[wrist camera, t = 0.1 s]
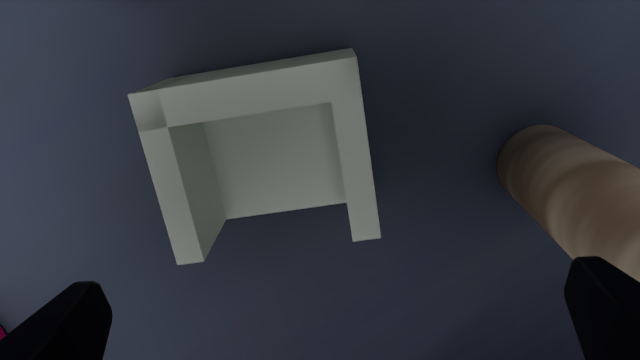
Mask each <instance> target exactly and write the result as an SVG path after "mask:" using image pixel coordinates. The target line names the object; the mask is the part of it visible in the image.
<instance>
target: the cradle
mask: <svg viewBox="0 0 640 360" xmlns="http://www.w3.org/2000/svg"><path fill="white" fill-rule="evenodd" d="M127 95H128V98H129V102H130V105H131V108H132V112H133V115H134V119H135V122H136V126H137V129H138V132H139V136H140V139H141V143H142V146H143V149H144V153H145V156H146V160H147V163H148V167H149V170H150V173H151V177H152V180H153V184H154V187H155V190H156V194H157V197H158V201H159V204H160V208H161V211H162V214H163V218H164V221H165V225H166V228H167V231H168V235H169V238H170V242H171V245H172V249H173V252H174V255H175V259H176V262H177V265H183V264H190V263H198V262H204V261H205V259H206V257H207V255H208V253H209V251H210V249H211V247H212V246H213V244H214V242H215V240H216V238H217V236H218V234H219V232H220V230H221V229H222V227H223V225H224V223H225V221H226V219H233V218H240V217H247V216H254V215H262V214H269V213H276V212H283V211H290V210H297V209H304V208H311V207H318V206H326V205H333V204H340V203H347V207H348V214H349V220H350V227H351V233H352V240H353V242H355V241H362V240H370V239H377V238H381V233H380V226H379V218H378V211H377V203H376V196H375V188H374V181H373V174H372V166H371V159H370V151H369V144H368V136H367V129H366V121H365V114H364V107H363V99H362V92H361V84H360V77H359V69H358V62H357V56H356V54H355V52H354V50H353V48H347V49H341V50H335V51H329V52H323V53H317V54H311V55H305V56H299V57H293V58H287V59H281V60H275V61H269V62H263V63H257V64H251V65H245V66H239V67H233V68H227V69H221V70H215V71H209V72H203V73H197V74H191V75H185V76H179V77H173V78H169V79H166V80H163V81H161V82H158V83H156V84H153V85H150V86H148V87H145V88H143V89H140V90H138V91H135V92H132V93H130V94H127Z"/></svg>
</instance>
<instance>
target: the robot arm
mask: <svg viewBox="0 0 640 360" xmlns="http://www.w3.org/2000/svg"><path fill="white" fill-rule="evenodd" d="M564 296H565V301H566V304H567V307H568V310H569V313H570V316H571V319H572V322H573V325H574V328H575V331H576V334H577V337H578V340H579V342H580V345H581V348H582V351H583V354H584V357H585V360H640V282H639V281H637V280H636V279H634V278H633V277H631V276H629V275H628V274H626V273H625V272H623V271H622V270H620V269H619V268H617V267H616V266H614V265H612V264H611V263H609V262H608V261H606V260H605V259H603V258H601V257H599V256H581V257H576V258H574V260H573V261H572V263H571V267H570V270H569V274H568V277H567V280H566V284H565V288H564ZM111 323H112V310H111V307H110V305H109V303H108V301H107V298H106V296H105V294H104V292H103V290H102V288H101V286H100V284H99V283H98V282H96V281H81V282H75V283H73V284H71V285H70V286H69V287H67V288H66V289H65V290H64V291H62V292H61V293H60V294H58V295H57V296H56V297H55V298H53V299H52V300H51V301H49V302H48V303H47V304H46V305H44V306H43V307H42V308H40V309H39V310H38V311H37V312H35V313H34V314H33V315H31V316H30V317H29V318H28V319H26V320H25V321H24V322H22V323H21V324H20V325H19V326H17V327H16V328H15V329H13V330H12V331H11V332H10V333H8V334H7V335H6V336H4V337H3V338H2V339H1V340H0V360H103V355H104V351H105V347H106V343H107V339H108V335H109V331H110V327H111Z"/></svg>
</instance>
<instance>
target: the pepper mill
mask: <svg viewBox="0 0 640 360" xmlns="http://www.w3.org/2000/svg"><path fill="white" fill-rule="evenodd" d="M4 336H6V333H5V332H4V330H3V329H2V328H1V326H0V340H1V339H2V338H3V337H4Z"/></svg>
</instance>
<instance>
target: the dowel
mask: <svg viewBox="0 0 640 360" xmlns="http://www.w3.org/2000/svg"><path fill="white" fill-rule="evenodd" d="M497 175H498V179H499V181H500V183H501V185H502V186H503V188H504V189H505V190H506V191H507V192H508V193H509V194H510V195H511V196H512V197H513V198H514V199H515V200H516V201H517V202H518V203H519V204H520V205H521V206H522V207H523V208H524V209H525V210H526V212H527V213H528V214H529V215H530V216H531V217H532V218H533V219H534V220H535V221H536V222H537V223H538V224H539V225H540V226H541V227H542V228H543V229H544V230H545V231H546V232H547V233H548V234H549V235H550V236H551V237H552V238H553V239H554V240H555V241H556V242H557V243H558V244H559V245H560V246H561V247H562V249H563V250H564V251H565V252H566V253H567V254H568V255H569V256H570V257H571V258H572V259H573V260H574V258H576V257H581V256H599V257H601V258H603V259H605V260H606V261H608V262H609V263H611V264H612V265H614V266H616V267H617V268H619V269H620V270H622V271H623V272H625V273H626V274H628V275H629V276H631V277H633V278H634V279H636V280H637V281H639V282H640V169H639V168H637V167H635V166H633V165H631V164H629V163H627V162H625V161H623V160H621V159H619V158H617V157H615V156H613V155H611V154H609V153H607V152H605V151H603V150H601V149H599V148H597V147H595V146H593V145H591V144H589V143H587V142H585V141H583V140H581V139H579V138H578V137H576V136H574V135H572V134H570V133H568V132H566V131H564V130H562V129H560V128H558V127H555V126H552V125H542V124H541V125H533V126H529V127H526V128H524V129H522V130H520V131H518V132H517V133H515V134H514V135H513V136H511V137H510V138H509V139H508V140H507V142H506V143H505V144H504V146H503V147H502V149H501V151H500V153H499V156H498V159H497Z"/></svg>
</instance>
